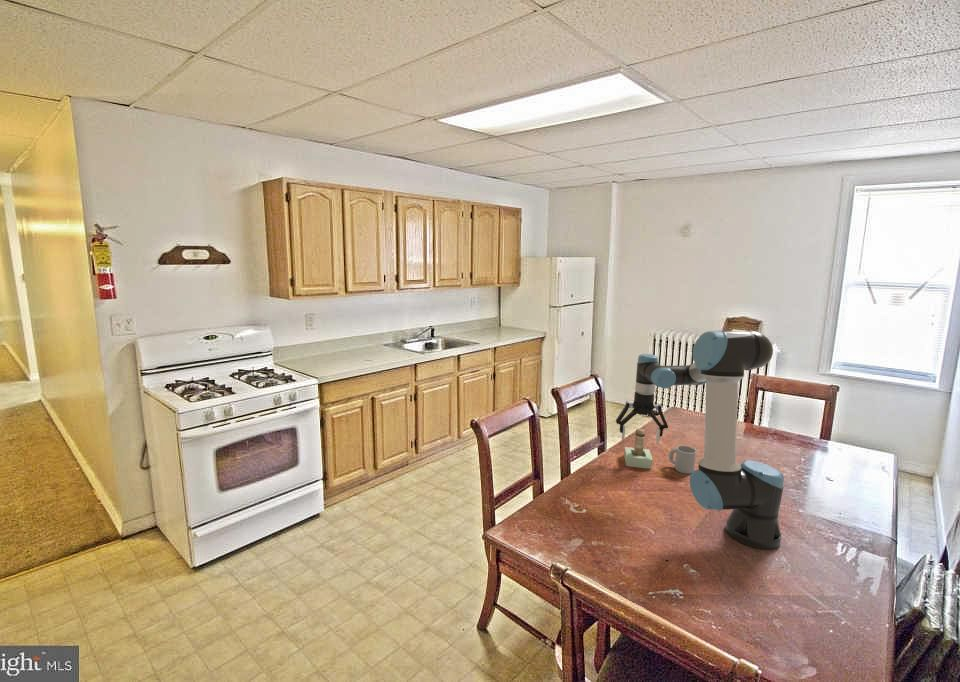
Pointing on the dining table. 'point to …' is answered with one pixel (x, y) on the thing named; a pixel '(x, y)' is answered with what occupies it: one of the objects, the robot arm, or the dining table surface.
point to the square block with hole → (638, 458)
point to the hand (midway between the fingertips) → (639, 441)
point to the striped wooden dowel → (639, 442)
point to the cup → (683, 459)
